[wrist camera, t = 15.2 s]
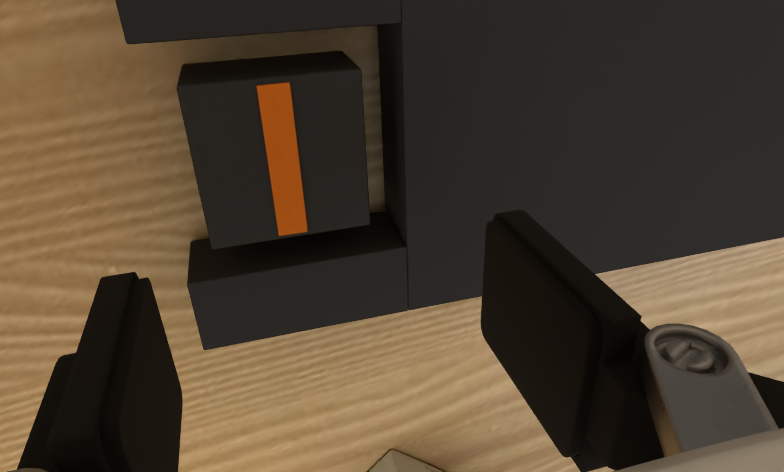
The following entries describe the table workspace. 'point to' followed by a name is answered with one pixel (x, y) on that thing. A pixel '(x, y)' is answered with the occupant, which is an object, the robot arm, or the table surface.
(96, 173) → the table surface
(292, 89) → the tile
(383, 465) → the cosmetic box
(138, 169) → the table surface
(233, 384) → the table surface
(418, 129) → the black notched block
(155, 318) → the robot arm
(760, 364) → the table surface
